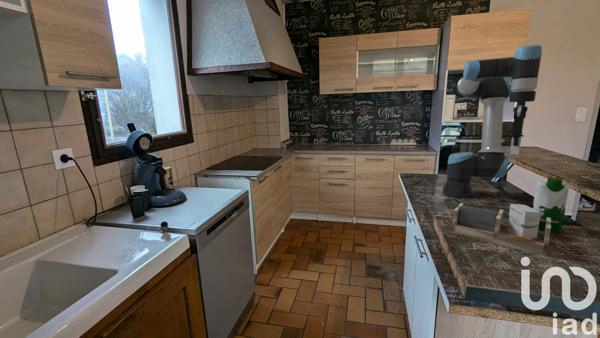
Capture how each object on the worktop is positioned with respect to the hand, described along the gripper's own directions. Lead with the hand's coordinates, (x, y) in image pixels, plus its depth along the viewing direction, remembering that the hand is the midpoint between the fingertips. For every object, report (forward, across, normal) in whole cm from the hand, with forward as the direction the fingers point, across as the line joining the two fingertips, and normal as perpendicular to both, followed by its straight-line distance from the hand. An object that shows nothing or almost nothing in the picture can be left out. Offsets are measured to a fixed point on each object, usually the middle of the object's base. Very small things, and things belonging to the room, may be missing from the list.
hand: (514, 153), depth 106 cm
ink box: (+27, +18, +6) cm, 34 cm away
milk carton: (+29, -2, +12) cm, 31 cm away
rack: (+28, +19, -1) cm, 34 cm away
